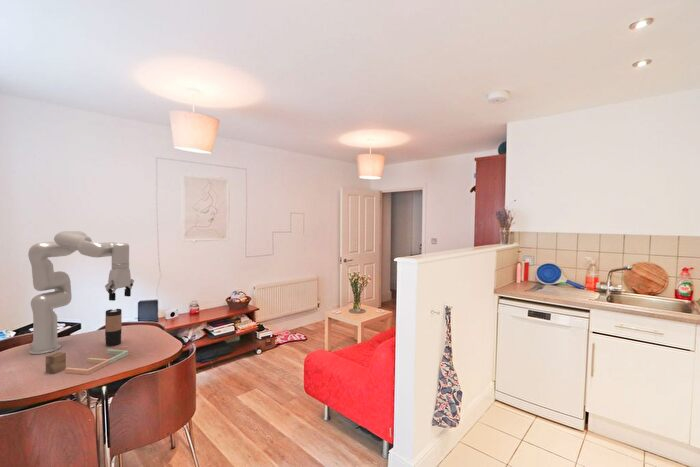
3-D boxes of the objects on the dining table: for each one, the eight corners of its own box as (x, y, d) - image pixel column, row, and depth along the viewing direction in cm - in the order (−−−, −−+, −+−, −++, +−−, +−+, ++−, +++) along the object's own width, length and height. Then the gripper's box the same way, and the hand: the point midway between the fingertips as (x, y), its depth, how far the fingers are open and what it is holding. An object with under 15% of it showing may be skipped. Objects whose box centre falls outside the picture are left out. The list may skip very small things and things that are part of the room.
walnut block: (45, 372, 147) (45, 356, 147) (56, 368, 152) (56, 352, 152) (54, 373, 147) (55, 356, 147) (65, 369, 152) (65, 352, 152)
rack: (64, 372, 148) (64, 368, 148) (108, 352, 171) (108, 349, 171) (87, 374, 147) (87, 370, 147) (128, 354, 170) (128, 350, 170)
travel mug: (112, 347, 179) (112, 312, 179) (101, 345, 181) (101, 311, 180) (124, 342, 187) (125, 309, 186) (114, 341, 188) (114, 308, 188)
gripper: (127, 264, 176) (126, 294, 176) (99, 268, 159) (99, 301, 159) (139, 264, 175) (139, 295, 175) (112, 268, 158) (112, 302, 158)
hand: (120, 298), depth 167 cm, fingers open, 9 cm apart
